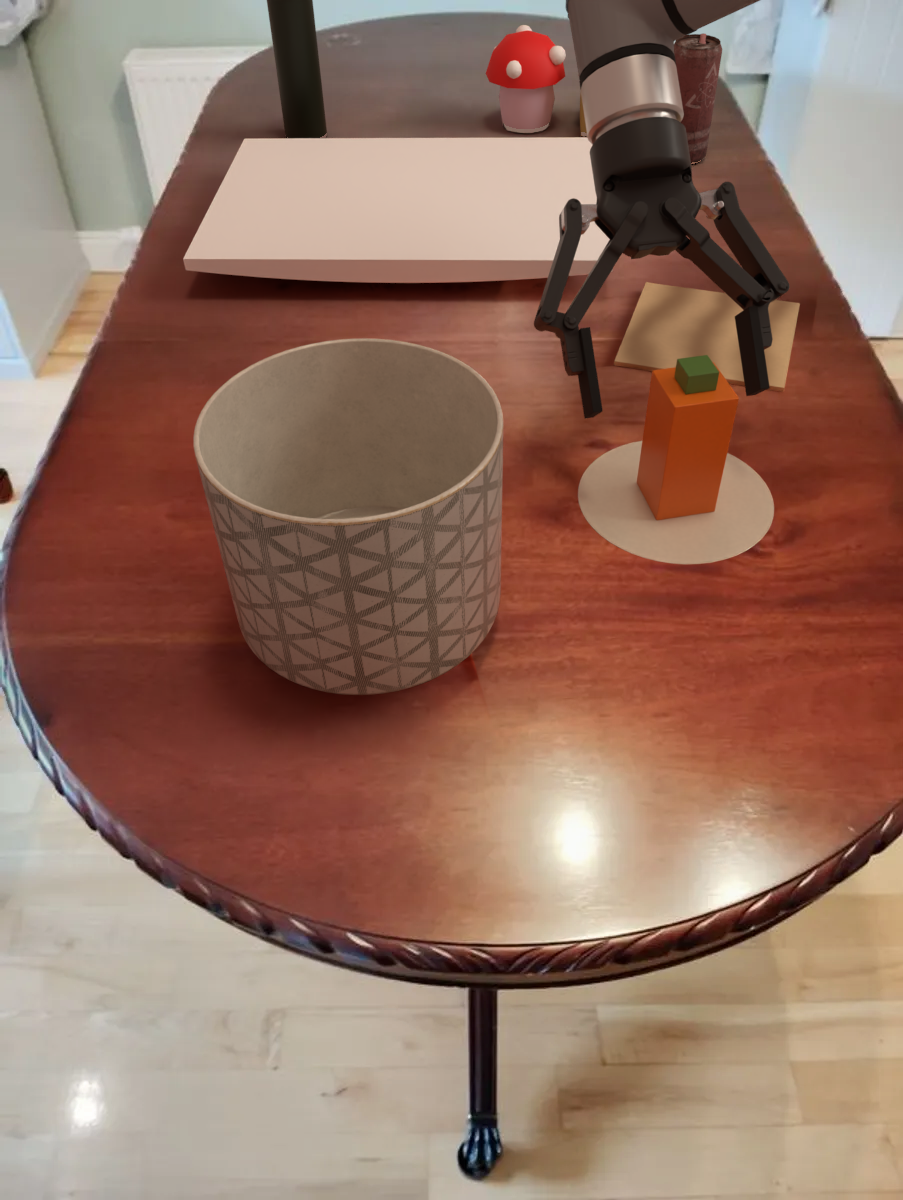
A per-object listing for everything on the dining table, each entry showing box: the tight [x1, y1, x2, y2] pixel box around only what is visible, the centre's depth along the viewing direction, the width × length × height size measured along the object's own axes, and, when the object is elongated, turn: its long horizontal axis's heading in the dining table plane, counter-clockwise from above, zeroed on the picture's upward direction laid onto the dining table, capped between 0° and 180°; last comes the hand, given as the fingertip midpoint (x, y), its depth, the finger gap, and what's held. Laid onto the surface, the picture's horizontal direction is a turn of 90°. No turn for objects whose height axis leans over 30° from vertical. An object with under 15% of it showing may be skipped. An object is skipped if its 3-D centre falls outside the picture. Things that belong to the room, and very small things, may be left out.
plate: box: [577, 440, 775, 565], centre depth 83 cm, size 16×16×1 cm
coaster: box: [613, 281, 801, 393], centre depth 100 cm, size 16×16×1 cm
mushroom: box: [485, 24, 567, 129], centre depth 136 cm, size 11×11×12 cm
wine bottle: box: [266, 0, 328, 138], centre depth 128 cm, size 6×6×30 cm
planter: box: [193, 337, 504, 696], centre depth 68 cm, size 19×19×18 cm
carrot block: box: [637, 355, 740, 520], centre depth 78 cm, size 5×5×13 cm
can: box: [674, 33, 723, 163], centre depth 126 cm, size 6×6×14 cm
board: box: [182, 136, 614, 284], centre depth 117 cm, size 45×32×5 cm
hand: (676, 404), depth 79 cm, fingers open, 13 cm apart
